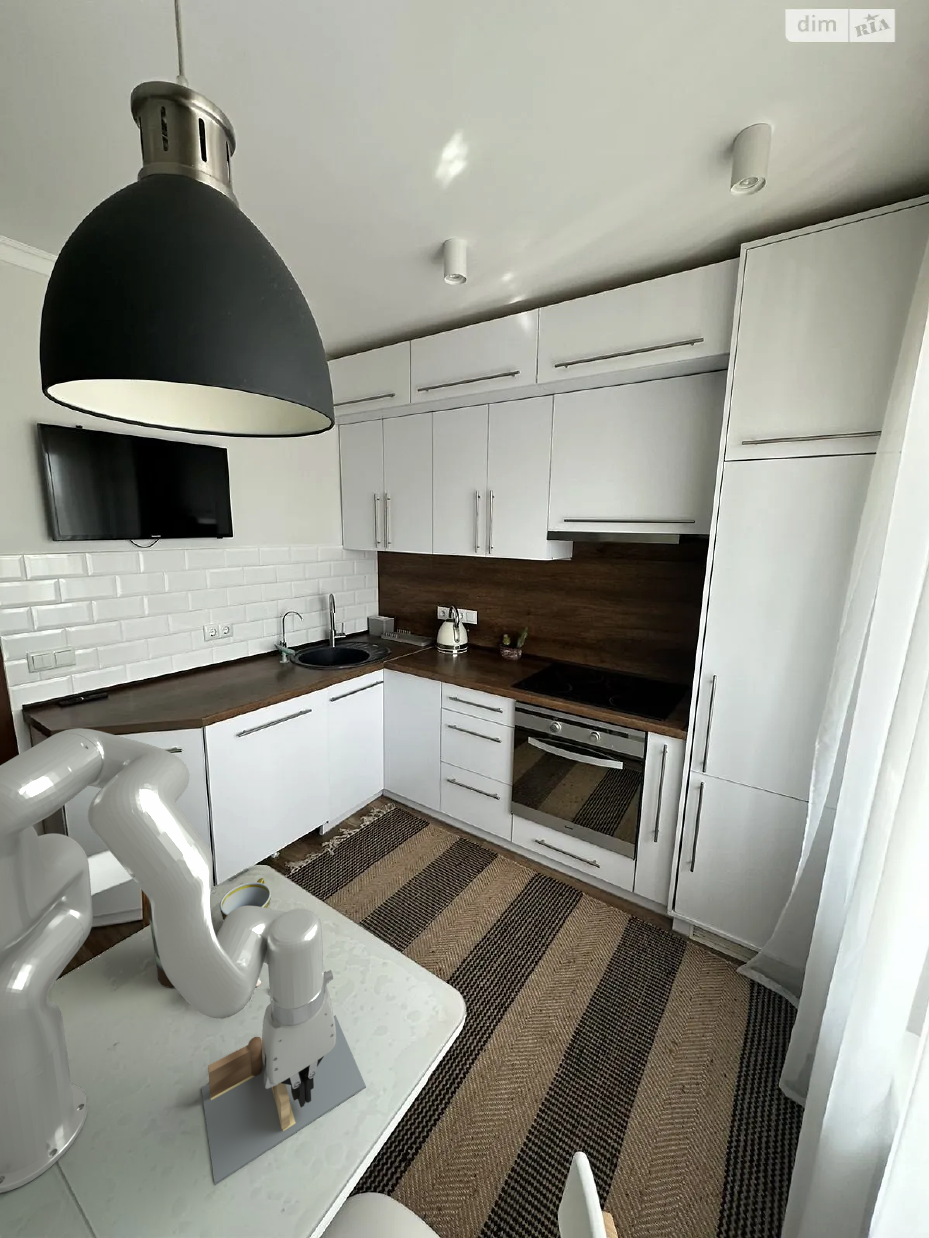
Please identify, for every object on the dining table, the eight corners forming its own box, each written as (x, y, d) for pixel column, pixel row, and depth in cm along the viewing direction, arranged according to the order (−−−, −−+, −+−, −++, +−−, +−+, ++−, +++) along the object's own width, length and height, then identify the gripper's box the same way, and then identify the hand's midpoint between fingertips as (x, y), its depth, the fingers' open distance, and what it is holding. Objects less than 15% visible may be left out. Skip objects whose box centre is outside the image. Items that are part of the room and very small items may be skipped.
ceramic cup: (259, 960, 102) (257, 918, 100) (212, 956, 102) (209, 914, 100) (285, 912, 114) (284, 874, 113) (243, 909, 115) (242, 871, 113)
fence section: (211, 1101, 76) (209, 1072, 75) (209, 1088, 78) (207, 1061, 77) (263, 1071, 81) (262, 1044, 80) (261, 1060, 82) (259, 1034, 81)
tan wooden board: (263, 1057, 83) (262, 1032, 82) (276, 1050, 84) (275, 1026, 83) (278, 1131, 73) (277, 1103, 72) (292, 1123, 74) (292, 1096, 73)
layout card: (215, 1184, 67) (214, 1182, 67) (201, 1088, 78) (201, 1086, 78) (365, 1087, 79) (365, 1085, 79) (335, 1016, 91) (335, 1014, 91)
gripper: (336, 952, 80) (339, 1046, 83) (237, 1003, 71) (245, 1105, 74) (355, 987, 74) (358, 1086, 77) (250, 1047, 65) (258, 1155, 68)
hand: (302, 1095), depth 76 cm, fingers closed
